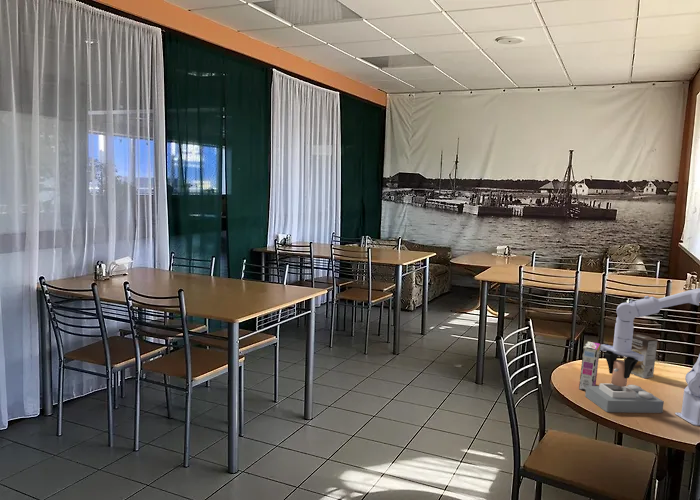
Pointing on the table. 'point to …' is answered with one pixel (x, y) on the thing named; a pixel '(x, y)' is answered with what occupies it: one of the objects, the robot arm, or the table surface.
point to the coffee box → (647, 349)
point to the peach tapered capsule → (618, 373)
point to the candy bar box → (589, 365)
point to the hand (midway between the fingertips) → (619, 375)
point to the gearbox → (624, 398)
